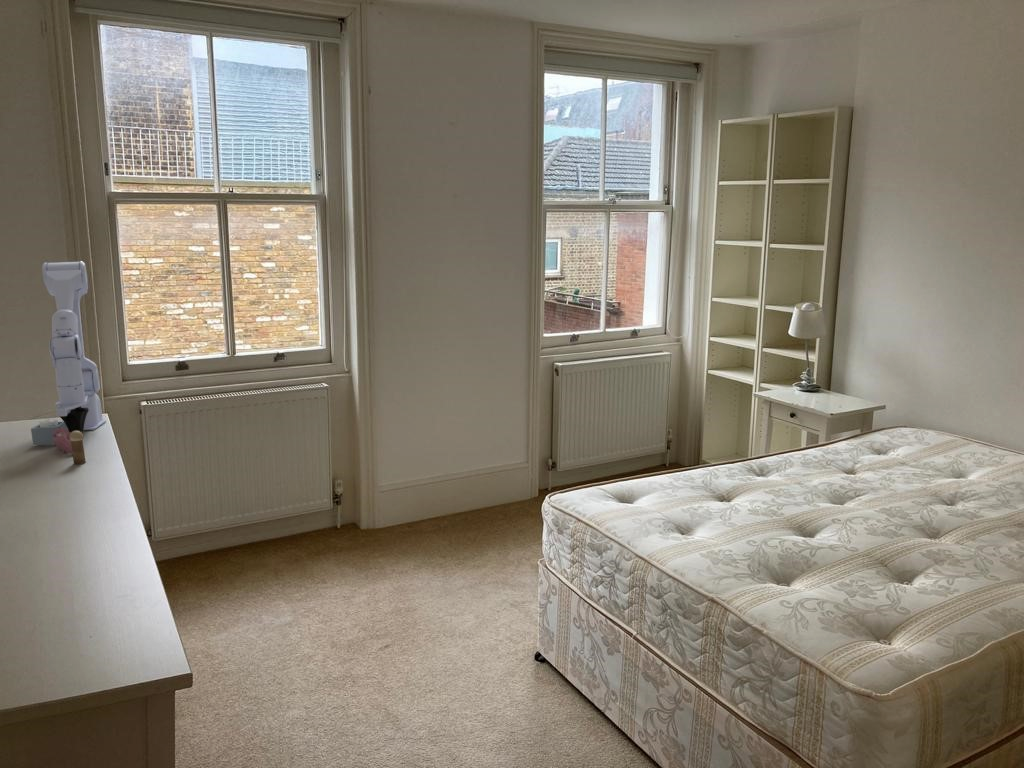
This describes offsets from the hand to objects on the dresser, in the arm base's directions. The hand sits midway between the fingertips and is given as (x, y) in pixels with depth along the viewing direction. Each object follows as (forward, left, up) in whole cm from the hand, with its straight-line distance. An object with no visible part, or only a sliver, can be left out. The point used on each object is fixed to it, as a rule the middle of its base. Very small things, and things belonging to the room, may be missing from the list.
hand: (77, 437), depth 206 cm
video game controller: (+7, +1, -2) cm, 7 cm away
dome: (-2, -7, +1) cm, 7 cm away
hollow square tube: (-2, -7, -1) cm, 7 cm away
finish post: (+19, +7, -1) cm, 20 cm away
